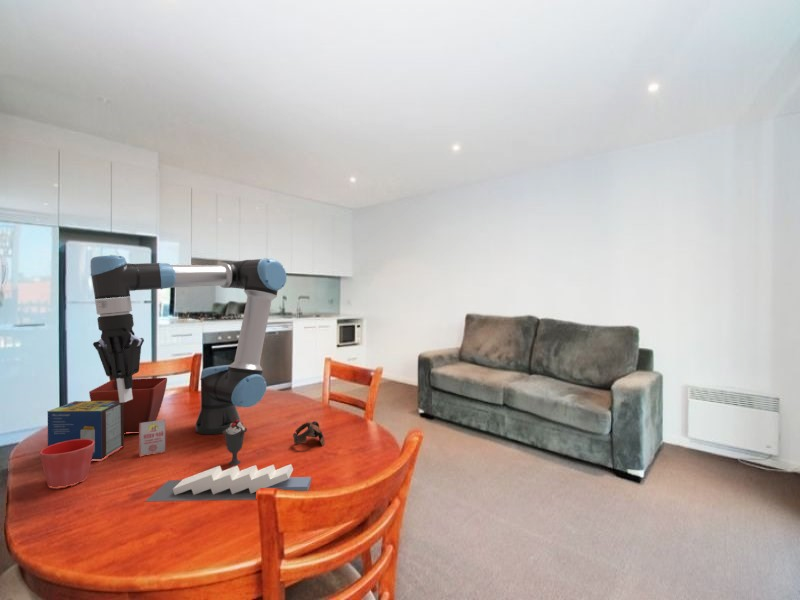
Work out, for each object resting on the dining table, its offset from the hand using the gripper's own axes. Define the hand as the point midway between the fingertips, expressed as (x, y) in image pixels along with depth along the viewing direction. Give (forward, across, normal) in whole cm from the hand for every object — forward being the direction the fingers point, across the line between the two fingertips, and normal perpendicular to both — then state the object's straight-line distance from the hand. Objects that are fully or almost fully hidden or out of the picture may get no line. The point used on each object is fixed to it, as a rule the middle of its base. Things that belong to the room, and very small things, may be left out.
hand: (126, 400), depth 101 cm
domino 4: (+23, +30, -4) cm, 38 cm away
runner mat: (+24, +27, -4) cm, 36 cm away
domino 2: (+22, +21, -5) cm, 31 cm away
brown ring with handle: (+27, +39, +28) cm, 55 cm away
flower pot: (+20, -16, -4) cm, 26 cm away
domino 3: (+22, +26, -4) cm, 34 cm away
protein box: (+20, -26, +11) cm, 35 cm away
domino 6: (+23, +39, -2) cm, 46 cm away
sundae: (+24, +22, +10) cm, 35 cm away
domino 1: (+21, +17, -6) cm, 28 cm away
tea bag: (+22, -7, +15) cm, 28 cm away
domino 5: (+23, +35, -3) cm, 42 cm away
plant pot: (+21, -30, +33) cm, 49 cm away
